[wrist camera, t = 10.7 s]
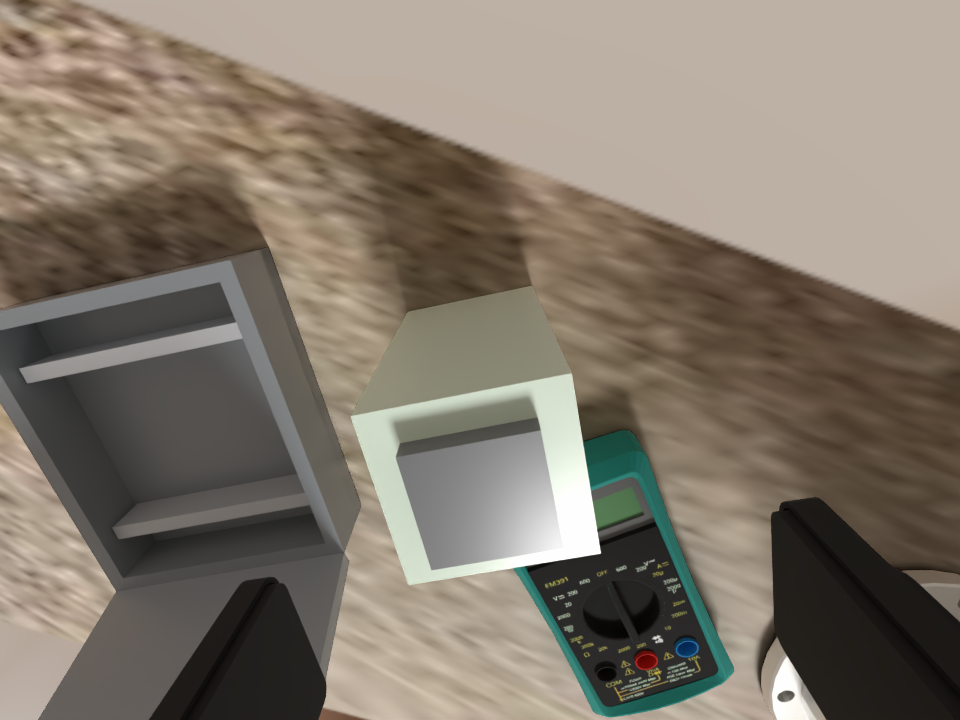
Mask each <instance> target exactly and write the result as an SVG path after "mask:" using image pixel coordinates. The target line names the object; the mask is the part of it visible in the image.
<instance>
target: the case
mask: <svg viewBox="0 0 960 720" xmlns="http://www.w3.org/2000/svg"><path fill="white" fill-rule="evenodd" d="M0 403H1V405H2V406H3V408H4V410H5V411H6V413H7V414H8V416H9V418H10V419H11V421H12V423H13V424H14V426H15V427H16V429H17V431H18V432H19V434H20V436H21V437H22V439H23V440H24V442H25V444H26V445H27V447H28V449H29V450H30V452H31V453H32V455H33V457H34V458H35V460H36V462H37V463H38V465H39V466H40V468H41V470H42V471H43V473H44V475H45V476H46V478H47V479H48V481H49V483H50V484H51V486H52V488H53V489H54V491H55V493H56V494H57V496H58V497H59V499H60V501H61V502H62V504H63V506H64V507H65V509H66V510H67V512H68V514H69V515H70V517H71V519H72V520H73V522H74V523H75V525H76V527H77V528H78V530H79V532H80V533H81V535H82V536H83V538H84V540H85V541H86V543H87V545H88V546H89V548H90V549H91V551H92V553H93V554H94V556H95V558H96V559H97V561H98V562H99V564H100V566H101V567H102V569H103V571H104V572H105V574H106V575H107V577H108V579H109V580H110V582H111V584H112V585H113V587H114V588H115V590H116V592H117V591H123V590H128V589H134V588H140V587H146V586H152V585H158V584H163V583H169V582H175V581H181V580H187V579H193V578H199V577H204V576H210V575H216V574H222V573H228V572H234V571H240V570H245V569H251V568H257V567H263V566H269V565H275V564H281V563H286V562H292V561H298V560H304V559H310V558H316V557H321V556H327V555H333V554H339V553H344V552H345V549H346V546H347V544H348V541H349V538H350V535H351V533H352V530H353V527H354V524H355V522H356V519H357V516H358V514H359V511H360V508H361V504H360V501H359V498H358V495H357V492H356V490H355V487H354V484H353V481H352V478H351V476H350V473H349V470H348V467H347V465H346V462H345V459H344V456H343V453H342V451H341V448H340V445H339V442H338V439H337V437H336V434H335V431H334V428H333V426H332V423H331V420H330V417H329V414H328V412H327V409H326V406H325V403H324V400H323V398H322V395H321V392H320V389H319V386H318V384H317V381H316V378H315V375H314V373H313V370H312V367H311V364H310V361H309V359H308V356H307V353H306V350H305V347H304V345H303V342H302V339H301V336H300V334H299V331H298V328H297V325H296V322H295V320H294V317H293V314H292V311H291V308H290V306H289V303H288V300H287V297H286V294H285V292H284V289H283V286H282V283H281V281H280V278H279V275H278V272H277V269H276V267H275V264H274V261H273V258H272V255H271V253H270V250H269V247H267V248H263V249H258V250H254V251H249V252H245V253H240V254H236V255H231V256H227V257H222V258H218V259H213V260H209V261H205V262H200V263H196V264H191V265H187V266H182V267H178V268H173V269H169V270H164V271H160V272H155V273H151V274H147V275H142V276H138V277H133V278H129V279H124V280H120V281H115V282H111V283H106V284H102V285H97V286H93V287H89V288H84V289H80V290H75V291H71V292H66V293H62V294H57V295H53V296H48V297H44V298H39V299H35V300H31V301H26V302H23V303H19V304H16V305H12V306H8V307H5V308H1V309H0Z"/></svg>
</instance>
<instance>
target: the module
mask: <svg viewBox="0 0 960 720" xmlns="http://www.w3.org/2000/svg"><path fill="white" fill-rule="evenodd" d="M351 419H352V422H353V425H354V428H355V431H356V434H357V437H358V440H359V443H360V446H361V449H362V451H363V454H364V457H365V460H366V463H367V466H368V469H369V472H370V475H371V478H372V481H373V483H374V486H375V489H376V492H377V495H378V498H379V501H380V504H381V507H382V510H383V513H384V515H385V518H386V521H387V524H388V527H389V530H390V533H391V536H392V539H393V542H394V545H395V547H396V550H397V553H398V556H399V559H400V562H401V565H402V568H403V571H404V574H405V577H406V579H407V582H408V585H413V584H419V583H425V582H431V581H437V580H443V579H449V578H455V577H461V576H467V575H473V574H480V573H486V572H492V571H498V570H504V569H510V568H516V567H522V566H528V565H534V564H540V563H546V562H552V561H558V560H564V559H570V558H577V557H583V556H589V555H595V554H601V551H600V545H599V539H598V533H597V527H596V520H595V514H594V508H593V502H592V496H591V489H590V483H589V477H588V471H587V464H586V458H585V452H584V446H583V440H582V433H581V427H580V421H579V415H578V408H577V402H576V396H575V390H574V384H573V377H572V372H571V370H570V368H569V366H568V364H567V361H566V359H565V357H564V355H563V353H562V350H561V348H560V346H559V344H558V342H557V339H556V337H555V335H554V333H553V331H552V328H551V326H550V324H549V322H548V320H547V317H546V315H545V313H544V311H543V309H542V306H541V304H540V302H539V300H538V297H537V295H536V293H535V291H534V289H533V286H528V287H523V288H518V289H514V290H509V291H504V292H499V293H495V294H490V295H485V296H480V297H475V298H471V299H466V300H461V301H456V302H452V303H447V304H442V305H437V306H433V307H428V308H423V309H418V310H414V311H409V312H407V314H406V316H405V317H404V319H403V321H402V323H401V325H400V327H399V328H398V330H397V332H396V334H395V336H394V338H393V339H392V341H391V343H390V345H389V347H388V348H387V350H386V352H385V354H384V356H383V358H382V359H381V361H380V363H379V365H378V367H377V369H376V370H375V372H374V374H373V376H372V378H371V380H370V381H369V383H368V385H367V387H366V389H365V390H364V392H363V394H362V396H361V398H360V400H359V401H358V403H357V405H356V407H355V409H354V411H353V412H352V414H351Z"/></svg>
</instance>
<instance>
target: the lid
mask: <svg viewBox="0 0 960 720" xmlns="http://www.w3.org/2000/svg"><path fill="white" fill-rule="evenodd" d="M348 566H349V560H348V558H347V557H346V555H345V553H339V554H333V555H327V556H321V557H316V558H310V559H304V560H298V561H292V562H286V563H281V564H275V565H269V566H263V567H257V568H251V569H245V570H240V571H234V572H228V573H222V574H216V575H210V576H204V577H199V578H193V579H187V580H181V581H175V582H169V583H163V584H158V585H152V586H146V587H140V588H134V589H128V590H123V591H117V592H116V593H115V595H114V596H113V598H112V600H111V601H110V603H109V604H108V606H107V608H106V609H105V611H104V613H103V614H102V616H101V618H100V619H99V621H98V622H97V624H96V626H95V627H94V629H93V631H92V632H91V634H90V636H89V637H88V639H87V640H86V642H85V644H84V645H83V647H82V649H81V651H80V652H79V654H78V655H77V657H76V659H75V660H74V662H73V663H72V665H71V667H70V669H69V670H68V672H67V673H66V675H65V676H64V678H63V680H62V681H61V683H60V685H59V686H58V688H57V690H56V691H55V693H54V694H53V696H52V698H51V700H50V701H49V703H48V704H47V706H46V708H45V710H44V711H43V712H42V714H41V716H40V717H39V719H38V720H149V719H150V717H151V716H152V714H153V713H154V711H155V710H156V708H157V707H158V705H159V704H160V702H161V701H162V699H163V698H164V696H165V695H166V693H167V692H168V690H169V689H170V687H171V686H172V684H173V683H174V681H175V680H176V678H177V677H178V675H179V674H180V672H181V671H182V669H183V668H184V666H185V665H186V663H187V662H188V661H189V659H190V658H191V656H192V655H193V653H194V652H195V650H196V649H197V647H198V646H199V644H200V643H201V641H202V640H203V638H204V637H205V635H206V634H207V632H208V631H209V629H210V628H211V626H212V625H213V623H214V622H215V620H216V619H217V617H218V616H219V614H220V613H221V611H222V610H223V608H224V607H225V605H226V604H227V602H228V601H229V599H230V598H231V596H232V595H233V594H234V592H235V591H236V589H237V588H238V586H239V585H240V584H241V583H242V582H244V581H246V580H252V579H259V578H265V577H275V578H276V579H277V580H278V581H279V583H283V584H285V585H286V587H287V589H288V591H289V594H290V596H291V598H292V601H293V603H294V606H295V608H296V610H297V613H298V615H299V617H300V620H301V622H302V625H303V627H304V629H305V632H306V634H307V637H308V639H309V641H310V644H311V646H312V649H313V651H314V653H315V656H316V658H317V661H318V663H319V665H320V668H321V670H322V673H323V675H324V677H325V680H326V675H327V670H328V665H329V660H330V655H331V650H332V645H333V640H334V635H335V630H336V625H337V620H338V615H339V610H340V605H341V600H342V595H343V590H344V585H345V580H346V576H347V571H348Z"/></svg>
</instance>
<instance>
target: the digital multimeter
mask: <svg viewBox="0 0 960 720" xmlns="http://www.w3.org/2000/svg"><path fill="white" fill-rule="evenodd" d="M583 446H584V452H585V458H586V464H587V471H588V477H589V483H590V489H591V496H592V502H593V508H594V514H595V520H596V527H597V533H598V539H599V545H600V551H601V554H595V555H589V556H583V557H577V558H570V559H564V560H558V561H552V562H546V563H540V564H534V565H528V566H522V567H516V568H513V569H514V570H515V572H516V573H517V575H518V576H519V578H520V579H521V581H522V582H523V584H524V586H525V587H526V589H527V590H528V592H529V594H530V595H531V597H532V599H533V600H534V602H535V604H536V605H537V607H538V609H539V610H540V612H541V614H542V615H543V617H544V619H545V620H546V622H547V624H548V625H549V627H550V629H551V630H552V632H553V634H554V636H555V638H556V640H557V642H558V643H559V645H560V647H561V649H562V651H563V653H564V655H565V657H566V659H567V660H568V662H569V664H570V666H571V668H572V670H573V672H574V674H575V676H576V678H577V680H578V682H579V684H580V686H581V688H582V690H583V692H584V694H585V696H586V698H587V700H588V702H589V704H590V706H591V708H592V710H593V712H595V713H596V714H599V715H602V716H606V717H617V716H624V715H631V714H636V713H641V712H646V711H651V710H656V709H659V708H663V707H666V706H669V705H673V704H676V703H679V702H682V701H684V700H687V699H689V698H692V697H694V696H697V695H699V694H701V693H704V692H706V691H708V690H710V689H712V688H714V687H716V686H718V685H721V684H722V683H724V682H725V681H726V680H727V679H728V678H729V677H730V676H731V675H732V674H733V672H734V667H733V665H732V663H731V661H730V658H729V656H728V654H727V652H726V650H725V648H724V646H723V644H722V642H721V640H720V638H719V636H718V634H717V632H716V630H715V628H714V626H713V624H712V621H711V619H710V617H709V615H708V613H707V611H706V608H705V606H704V604H703V602H702V600H701V598H700V595H699V593H698V591H697V589H696V587H695V584H694V582H693V580H692V577H691V575H690V572H689V570H688V567H687V565H686V562H685V559H684V557H683V554H682V552H681V549H680V547H679V544H678V542H677V539H676V537H675V534H674V532H673V529H672V526H671V523H670V521H669V518H668V515H667V512H666V509H665V506H664V503H663V501H662V498H661V495H660V492H659V489H658V486H657V483H656V480H655V478H654V475H653V472H652V469H651V466H650V463H649V460H648V458H647V456H646V454H645V452H644V450H643V449H642V447H641V445H640V444H639V442H638V440H637V438H636V437H635V435H634V434H633V433H632V432H631V431H628V430H622V431H618V432H614V433H611V434H608V435H604V436H601V437H598V438H594V439H591V440H588V441H585V442H583ZM664 603H665V604H664ZM664 609H665V610H664ZM579 618H580V619H579ZM704 635H705V636H704ZM707 642H708V643H707Z"/></svg>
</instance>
